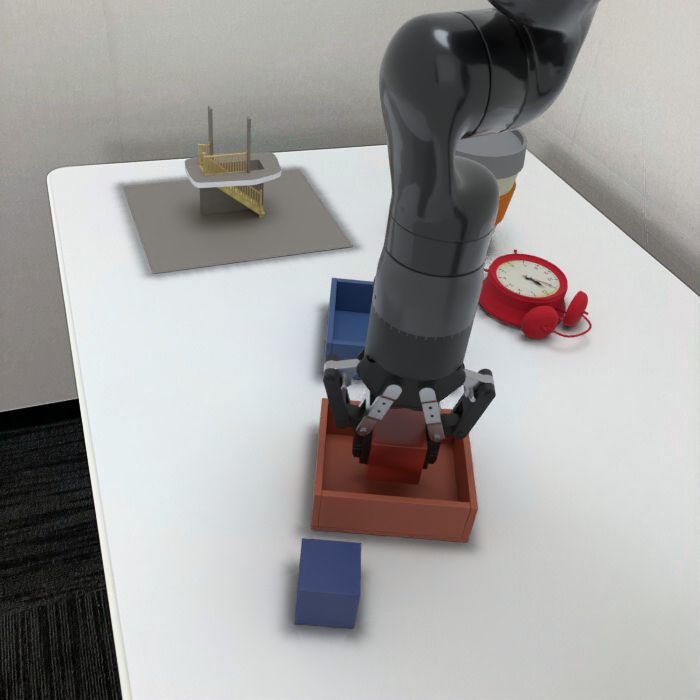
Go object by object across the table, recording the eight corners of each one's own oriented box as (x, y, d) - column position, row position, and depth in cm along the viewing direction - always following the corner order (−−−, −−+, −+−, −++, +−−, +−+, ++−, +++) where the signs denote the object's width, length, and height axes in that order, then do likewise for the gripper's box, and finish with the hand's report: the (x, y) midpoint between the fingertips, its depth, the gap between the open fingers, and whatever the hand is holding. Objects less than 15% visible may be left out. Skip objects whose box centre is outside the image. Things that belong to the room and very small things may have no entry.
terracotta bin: (457, 444, 73) (466, 410, 70) (467, 542, 65) (478, 508, 62) (318, 431, 73) (322, 397, 70) (310, 529, 64) (314, 494, 61)
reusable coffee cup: (401, 258, 97) (419, 147, 87) (411, 209, 106) (428, 104, 97) (501, 275, 96) (530, 165, 86) (501, 224, 106) (528, 120, 96)
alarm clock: (522, 240, 96) (621, 280, 85) (518, 286, 99) (613, 330, 88) (458, 260, 91) (554, 306, 80) (456, 308, 94) (548, 358, 83)
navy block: (355, 576, 61) (361, 542, 58) (354, 628, 58) (360, 595, 55) (298, 572, 61) (301, 537, 58) (293, 624, 58) (297, 590, 55)
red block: (416, 445, 69) (424, 409, 66) (418, 484, 65) (427, 449, 62) (366, 441, 69) (372, 405, 66) (365, 480, 65) (372, 444, 62)
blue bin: (444, 320, 88) (451, 288, 85) (451, 388, 79) (459, 354, 76) (328, 309, 87) (331, 277, 84) (323, 376, 79) (326, 342, 76)
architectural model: (352, 246, 98) (364, 142, 89) (153, 273, 89) (143, 161, 80) (299, 169, 112) (304, 72, 103) (122, 186, 104) (112, 83, 95)
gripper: (322, 323, 53) (307, 486, 64) (530, 343, 53) (479, 500, 64) (328, 262, 58) (312, 420, 69) (515, 280, 59) (470, 434, 70)
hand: (393, 458), depth 67 cm, fingers closed on red block, 4 cm apart
